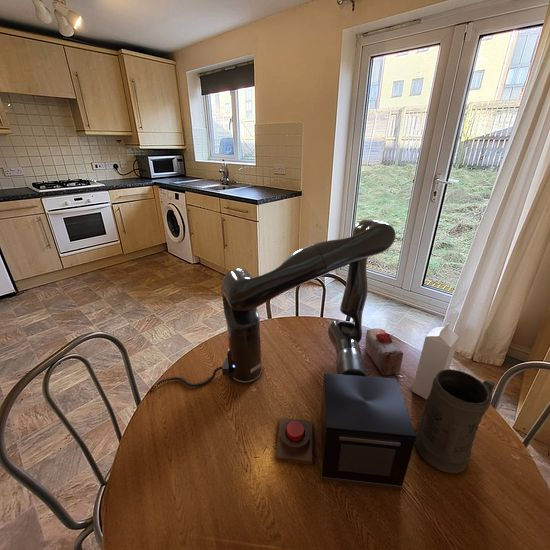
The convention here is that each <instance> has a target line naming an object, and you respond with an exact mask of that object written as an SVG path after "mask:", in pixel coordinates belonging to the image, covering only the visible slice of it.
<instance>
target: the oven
mask: <svg viewBox="0 0 550 550" xmlns="http://www.w3.org/2000/svg"><path fill="white" fill-rule="evenodd" d="M319 426H320V427H319V429H320V430H319V431H320V432H319V436H320V437H319V438H320V471H321V472H320V473H321V481H328V482H335V483H336V482H337V483H343V484H353V485H362V486H370V487H379V488H386V489H396V490H402V488H403V485H404V481H405V478H406V474H407V471H408V467H409V464H410V461H411V457H412V454H413V450H414V446H415V440H416V433H417V432H416V431H415V428H414V425H413V421H412V419H411V415H410V413H409V411H408V408H407V405H406V402H405V399H404V396H403V393H402V390H401V387H400V385H399V381H398V379H397V378H391V377H380V376H368V375H367V376H354V375H341V374H337V373H328V372H327V373H326V372H324V373H323V381H322V393H321V407H320V420H319Z"/></svg>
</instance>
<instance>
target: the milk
mask: <svg viewBox="0 0 550 550" xmlns="http://www.w3.org/2000/svg"><path fill="white" fill-rule="evenodd" d="M459 338H460V336H459V335H457V334H456V332H454V330H452V328H451V327H450V321H448V322H447V323H446V325H444V326H434V327H433V328H432V330H430V331H429V332H428V333H427V335H425V337H424V341H423V345H422V349H421V353H420V358H419V361H418V364H417V369H416V373H415V377H414V381H413V386H412V388H411V392H412V393H414V394H415V395H418V396H420V397H421V398H423V399H425V401H426V400H427V397H428V396H429V395H430V392H431V388H432V383H433V379H434V378H435V377H436V375H437V374H438V372H440V371H442V370H447V369H448V370H450V367H451V365H452V361H453V358H454V355H455V352H456V350H457V349H456V348H457V345H458V342H459V340H460V339H459Z"/></svg>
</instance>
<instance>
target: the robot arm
mask: <svg viewBox="0 0 550 550" xmlns="http://www.w3.org/2000/svg"><path fill="white" fill-rule="evenodd" d="M396 235H397V233H396V230H395V228H394V227H393V226H392V225H391V224H389V223H387V222H385V221H381V220H374V219H363V220H362V219H361V220H360V221H359V222H358V223H356V225H355V227H354V228H353V231H352V235H351V236H348V237H345V238H338V239H330V240H323V241H319V242H315V243H312V244H310V245H307V246H305V247H302V248H300V249H298V250H296V251H294V252H292V253H291V254H290V255H289V256H288V257H287V258H286V259H285V260H284V261H282V263H281V264H279V266H277V267H276V268H275V269H272V270H271V271H268V272H265V273H263V274H261V275H258V276H253V275H252V273H251V272H250V271H248V270H246V269H245V268H234V269H231V270H230V271H228V272H227V273H226V274H225V275H224V277H223V279H222V281H221V297H222V298H221V299H222V306H223V314H224V318H225V323H226V332H227V342H228V349H227V352H226V354H227V357H225V360H224V362H223V365H222V366H219V367H217V368H215V369H214V371H213V373H212V375H211V376H210V377H209V378H208V379H206V380H205V381H202V382H199V383H190V382H189V381H187V380H185V379H184V378H183V377H180V376H174V377H168V378H164V379H162V380H159V381H158V382H156V383H155V384H157V383H158V384H157V386H155V387H154V388H153V390H155V388H157V387H158V386H159V385H161V384H163V383H165V382H169V381H175V380H176V381H177V380H178V381H181V382H182V383H184V384H185V385H186V386H188V387H192V388H193V387H195V388H196V387H200V386H204V385H206V384H208V383H209V382H211V381H212V380H214V378H215V377H216V374H217V372H218V371H220V370H221V373H222V376H223V377H229V379H233V381H235V382H237V383H240V384H250V383H254V382H256V381H257V380H258V379H259V378H260V377H261V376H262V374H263V368H262V367H263V366H262V349H261V348H262V346H261V344H262V343H261V320H260V314H259V311H258V309H257V308H258V307H260V306H262V305H264V304H266V303H267V302H269V301H270V300H272V299H275V298H276V297H278V296H280V295H282V294H284V293H286V292H288V291H290V290H293V289H295V288H297V287H299V286H301V285H303V284H307V283H308V282H311V281H313V280H316V279H319V278H321V277H323V276H325V275H327V274H329V273H332V272H334V271H336V270H339V269H342V268H344V267H346V266H348V271H347V278H346V283H345V287H344V291H343V295H342V297H341V303H340V305H339V306H340V307H339V311H340V313H341V314H343V315H345V316H347V317H349V318H351V319H352V322H351V321H347V320H343V319H333V320H331V322H330V323H329V324H328V328H327V335H328V338H329V340H330V342H331V344H332V346H333V348H334V350H335V356H336V360H335V362H336V363H335V365H336V367H335V368H336V374H341V375H354V376H367V377H368V374H367V369H366V365H365V364H366V363H365V361H364V360H365V359H364V358H363V356H362V351H361V347H360V344H359V343H360V342H361V340H362V337H363V324H362V323H363V312H364V308H365V305H366V301H367V298H368V293H369V283H368V273H367V264H368V259H369V258H370V257H374V256H376V255H379V254H382V253H385V252H386V251H388V250H389V249H390V248H391V247H392V246H393V244H394V243H395V240H396ZM170 378H171V379H170ZM166 380H167V381H166ZM164 381H165V382H164ZM162 382H163V383H162ZM160 383H161V384H160ZM150 389H151V388H150ZM150 389H149V390H150ZM151 390H152V389H151ZM151 390H150V391H149V392H152V391H153V390H152V391H151Z"/></svg>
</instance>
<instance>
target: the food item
mask: <svg viewBox="0 0 550 550" xmlns="http://www.w3.org/2000/svg"><path fill="white" fill-rule="evenodd" d="M394 340H395V338H394V337H393V334H391V333H388V332H387V331H386V330H385V329H382V328H370V329H367V330H366V332H365V340H364V343H365V345H364V350H365V352H366V354H367V355H368V356H369V358H370V359H371V360H372V362H373V363H374V365H375V366H376V368H377V369H378V370H379V372H380V373H381V374H382V375H381V376H389V375H396V374H400V371H401V368H402V363H403V357H404V352H403V351H402V349H400V347H399V346H398V345H397V343H395V341H394Z"/></svg>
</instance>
